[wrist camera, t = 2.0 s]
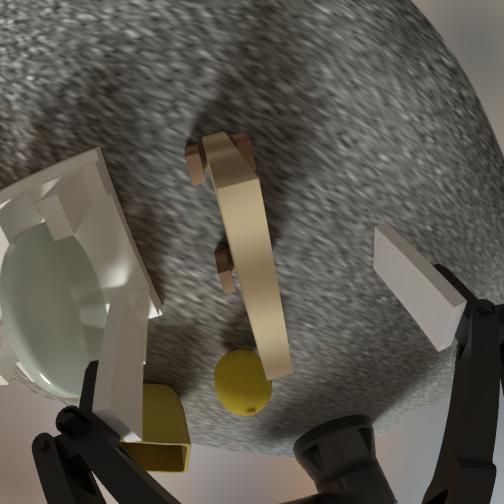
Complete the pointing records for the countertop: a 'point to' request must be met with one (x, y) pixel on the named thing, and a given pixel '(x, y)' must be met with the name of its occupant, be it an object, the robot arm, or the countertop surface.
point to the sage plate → (52, 309)
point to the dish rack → (78, 234)
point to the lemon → (242, 382)
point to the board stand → (196, 170)
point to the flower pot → (161, 432)
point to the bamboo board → (250, 250)
